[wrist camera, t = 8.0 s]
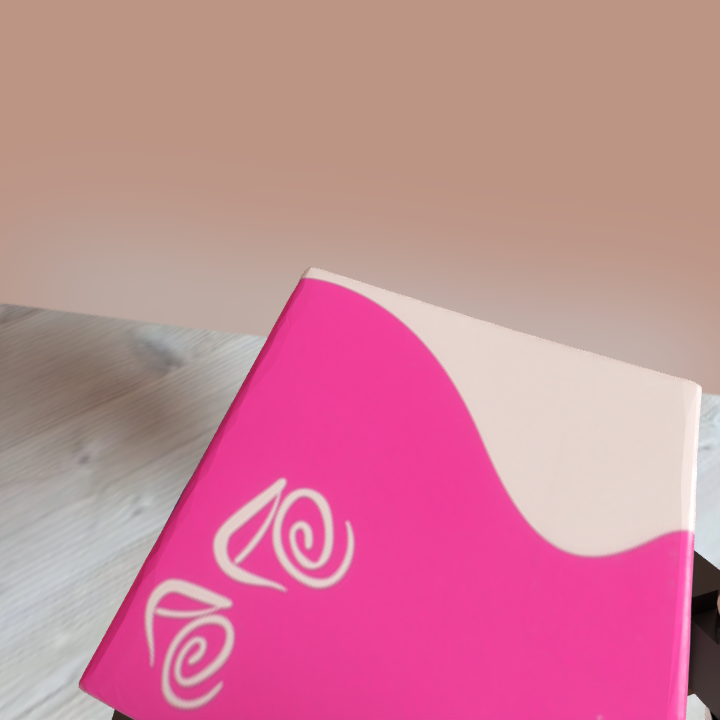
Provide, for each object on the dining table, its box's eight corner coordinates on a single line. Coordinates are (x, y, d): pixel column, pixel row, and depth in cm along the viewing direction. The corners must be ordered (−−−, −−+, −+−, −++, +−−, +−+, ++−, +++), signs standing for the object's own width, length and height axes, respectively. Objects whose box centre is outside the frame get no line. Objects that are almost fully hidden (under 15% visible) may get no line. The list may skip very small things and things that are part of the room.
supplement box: (334, 458, 17) (309, 244, 7) (492, 520, 16) (739, 381, 6) (262, 628, 14) (46, 700, 4) (445, 713, 13) (736, 1070, 3)
